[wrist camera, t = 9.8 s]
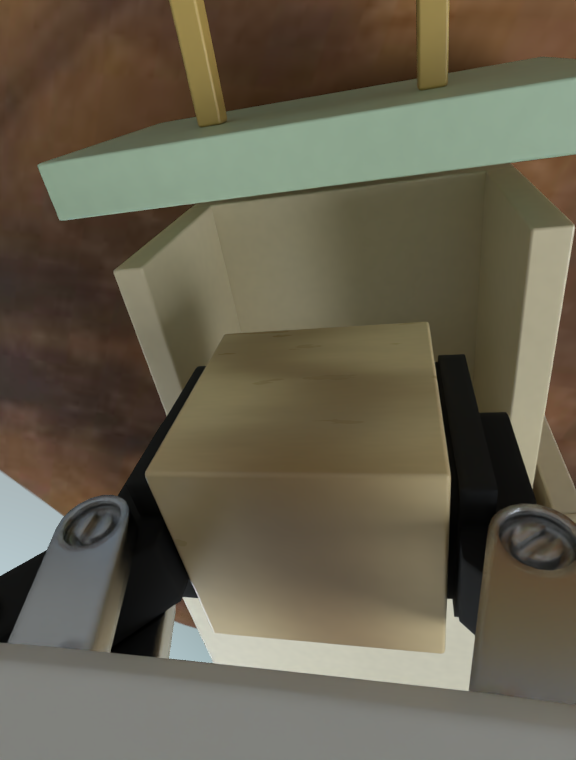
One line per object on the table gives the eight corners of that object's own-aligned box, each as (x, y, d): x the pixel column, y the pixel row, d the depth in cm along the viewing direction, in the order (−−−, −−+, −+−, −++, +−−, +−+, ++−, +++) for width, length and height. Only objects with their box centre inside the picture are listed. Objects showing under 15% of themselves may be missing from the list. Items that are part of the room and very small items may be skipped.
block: (261, 475, 13) (212, 635, 10) (223, 332, 11) (140, 474, 7) (429, 477, 12) (446, 656, 9) (429, 320, 10) (452, 476, 6)
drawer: (118, -32, 14) (-67, -86, 8) (566, -148, 11) (744, -346, 5) (245, 439, 23) (199, 563, 17) (502, 437, 20) (545, 582, 15)
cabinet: (222, 371, 22) (145, 521, 15) (521, 358, 19) (597, 537, 12) (277, 568, 30) (242, 727, 23) (494, 580, 27) (531, 766, 20)
